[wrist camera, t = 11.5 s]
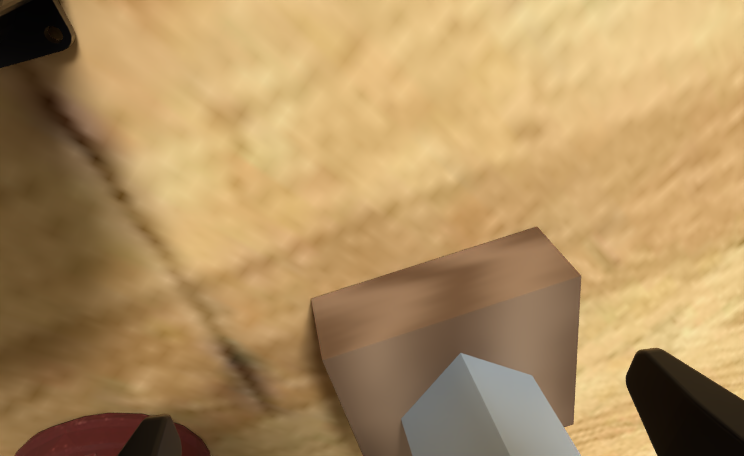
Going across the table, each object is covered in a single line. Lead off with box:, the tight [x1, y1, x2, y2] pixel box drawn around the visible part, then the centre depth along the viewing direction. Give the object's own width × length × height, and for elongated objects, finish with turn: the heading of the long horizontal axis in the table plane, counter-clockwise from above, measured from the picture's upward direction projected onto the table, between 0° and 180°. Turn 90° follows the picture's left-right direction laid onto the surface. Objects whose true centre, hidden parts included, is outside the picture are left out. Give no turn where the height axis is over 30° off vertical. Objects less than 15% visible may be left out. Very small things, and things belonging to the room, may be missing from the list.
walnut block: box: [311, 227, 581, 456], centre depth 27 cm, size 12×12×4 cm
